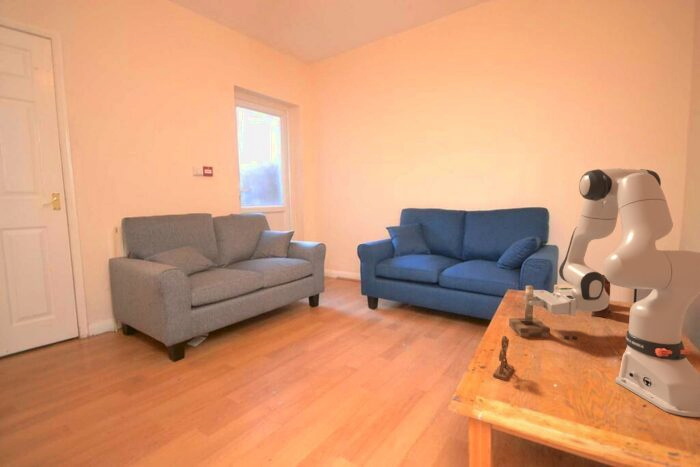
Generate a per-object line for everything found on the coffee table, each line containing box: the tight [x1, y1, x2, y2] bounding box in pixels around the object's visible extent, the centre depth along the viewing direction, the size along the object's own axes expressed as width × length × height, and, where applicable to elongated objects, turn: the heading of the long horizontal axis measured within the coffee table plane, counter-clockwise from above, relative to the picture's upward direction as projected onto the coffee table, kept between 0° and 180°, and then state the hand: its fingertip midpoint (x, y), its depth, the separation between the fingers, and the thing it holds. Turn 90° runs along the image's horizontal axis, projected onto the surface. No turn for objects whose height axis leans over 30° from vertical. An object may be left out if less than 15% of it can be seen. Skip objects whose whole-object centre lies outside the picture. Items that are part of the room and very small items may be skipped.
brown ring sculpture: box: [492, 335, 515, 382], centre depth 104 cm, size 9×4×12 cm, turn 140°
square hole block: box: [508, 317, 551, 338], centre depth 135 cm, size 11×11×4 cm
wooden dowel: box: [524, 285, 535, 321], centre depth 134 cm, size 3×3×14 cm
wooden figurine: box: [591, 274, 611, 318], centre depth 152 cm, size 12×6×18 cm, turn 143°
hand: (526, 301), depth 134 cm, fingers closed on wooden dowel, 3 cm apart
